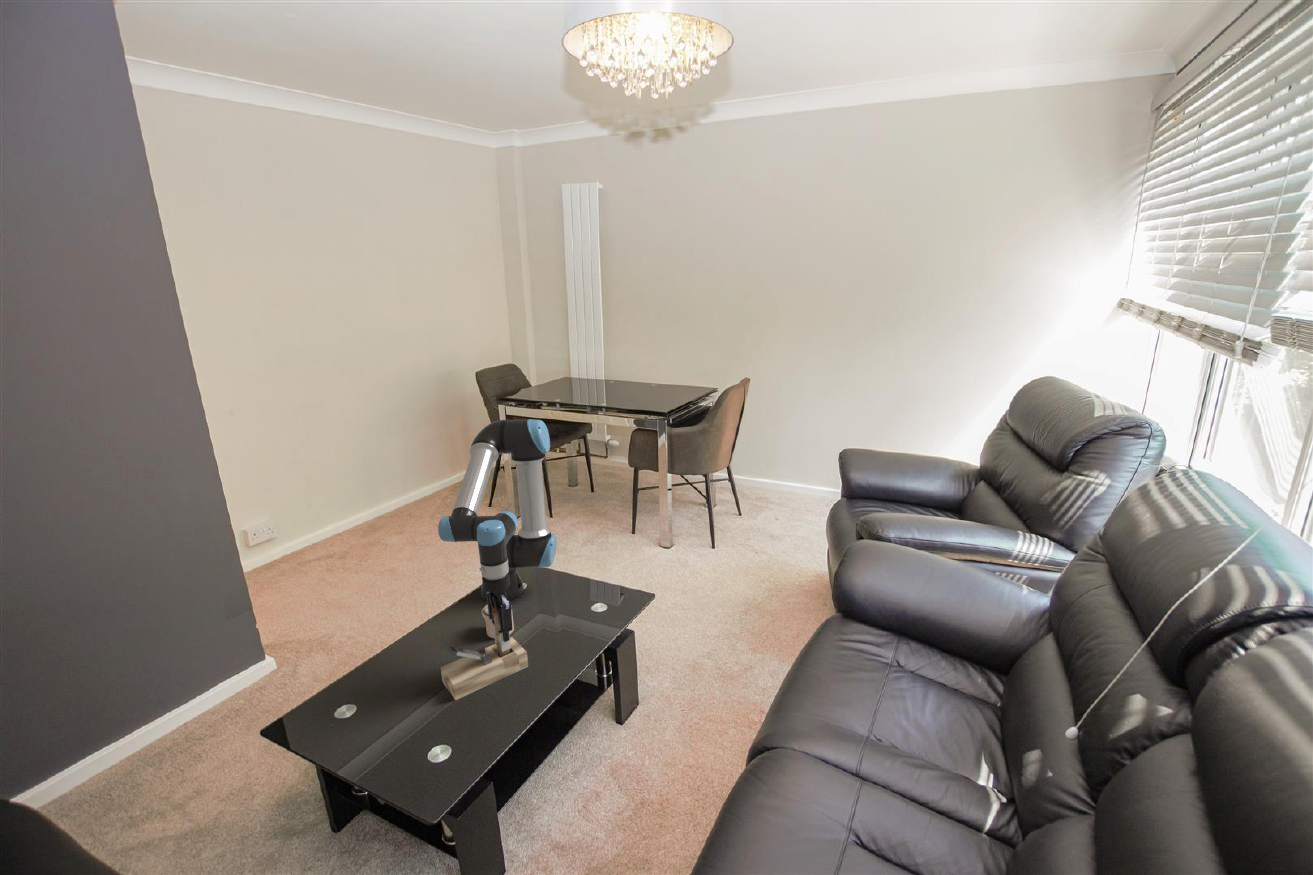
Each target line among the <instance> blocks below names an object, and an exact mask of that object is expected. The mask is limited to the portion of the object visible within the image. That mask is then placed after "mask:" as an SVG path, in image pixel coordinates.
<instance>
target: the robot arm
mask: <svg viewBox="0 0 1313 875" xmlns="http://www.w3.org/2000/svg"><path fill="white" fill-rule="evenodd" d="M550 440H551V439H550V434H549V429H548V427H547V425H546V423H545V422H544V421H543V420H541V419H531V418H529V419H528V418H527V419H500V420H499V419H498V420H495V421H492V422H490V423H489V424H488V425H485V427H483V428H482V429H481V430H480V431H479V432H478V433H477V434H476V436H475V437H474V439H473V441H472V442H471V445H470V448H469V454H470V459H469V460H468V461H469V462H468V464H467V467H466V470H465V472H464V476H463V479H462V481H461V482H462V483H461V485H460V488H459V491H458V494H457V496H456V500H455V503H454V507H453V509H452V512H451V515H447V516H442V517H441V519H440V520H439V521H438V529H437V531H438V536H439V538H440V539H441V541H443V542H450V543H459V542H461V543H463V542H464V543H465V542H466V543H467V542H477V547H478V554H479V563H480V568H479V571H480V572H481V576H482V577H481V580H482V581H481V587H480V594H481V598H482V599H483V600H484V601H485V602H486V605H488V612H489V618H490V620H491V619H492V623H493V624H494V625H493V627H494V636H495V639H494V643H495V644H496V646H497V641H496V632H495V623H494V615H493V614H492V609H493V608H495V609H496V610H497V613H498V619H499V624H500V631H498V632H499V634H500V643H501V651H502V652H503V651H505V650H508V649H510V648H511V643H510V638H511V637H510V636H511V634H510V633H509V631H512V630H513V627H512V615H513V611H512V612H511V607H512V608H513V604H512V601H511V600H514V599H516V598H517V597H519V596H520V595H521V594H522V593H523V592H524V583H523V579H522V578H521V576H520V573H519V572H518V570H517V569H522V568H525V569H527V568H534V569H535V568H537V569H540V568H549V567H550V566H552V564H553V563H554V561H555V556H556V551H557V535H556V534H553V533H552V530H551V527H550V526H548V525H547V520H546V506H545V505H546V503H545V491H544V481H543V480H544V478H543V466H542V464H543V461H544V459H546V454H547V453H549V452H550V451H551V450H550V448H551V441H550ZM503 454H510V456H511V457H510V458H511V461H512V462H513V463H515V464H516V473H517V476H516V477H517V487H518V488H517V489H518V495H519V496H518V499H519V510H520V524H521V528H520V529H519V530H518V532H517V534H515V533H516V531H517V529H518V527H519V520H518V517H517V516H516V515H515V514H514V513H513V512H511V511H508V510H503V511H500V512H498V513H496V514H495V515H479V512H480V509H481V505H482V502H483V500H484V499H483V498H484V495H485V491H486V488H487V485H488V482H489V479H490V475H491V473H492V469H493V466H494V463H495V462H497V461H498V459H499V457H500V455H503ZM508 601H509V602H508ZM513 631H514V630H513Z"/></svg>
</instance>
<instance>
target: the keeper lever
mask: <svg viewBox="0 0 1313 875" xmlns="http://www.w3.org/2000/svg"><path fill="white" fill-rule="evenodd" d="M446 650H447V651H448V652H449V653H450V655H452V656H453V655H454V656H457V657H462V658H463V657H468V658H473V659H479V660H482V657H484V656H486V655H485V654H484V653H482V652H477V651H476V650H473V649H472V650H471V649H465V648H462V647H456V646H451V645H448V646H447V649H446Z"/></svg>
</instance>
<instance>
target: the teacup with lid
mask: <svg viewBox="0 0 1313 875" xmlns="http://www.w3.org/2000/svg"><path fill="white" fill-rule="evenodd" d="M509 601H510V600H509ZM509 601H508V602H509ZM480 612H481V616H482V618H483V619H484V621H485V629H486V635H487V636H488V637H489V638H491V639H494V640H495V636H494V627H493V625H494V624H493V623H492V619H491V620H490V618H489V612H488V605H487V604H486V605H485V606H484V607H483V608H481V611H480ZM511 612H512V613H513V606H512V607H511ZM513 615H514V614H512V627H513V630H512V631H509V633H510V635H511V634H512V633H513V632H514V630H515V625H514V624H515V623H514V617H513Z"/></svg>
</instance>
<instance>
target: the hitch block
mask: <svg viewBox="0 0 1313 875" xmlns="http://www.w3.org/2000/svg"><path fill="white" fill-rule="evenodd" d="M510 643H511V648H510V654H507V655H505V656H503V657H501V658H500V657H499V656H498V650H497V646H496V644H492V645H490V646H487V647H485V646H482V647H480V648H477V649H475V651H477V652H482V653H484V654H485V655H486V656H484V657H482V660H479V659H473V658H468V657H463V656H462V657H461V658H458V659H456V660H454V661H452V662H449V663H447V664H444V665H442V666H440V673H441V674H440V675H441V680H442V683H443V685H444V686H445V688H446V689H447V690H448V692H449V693H450V695H451V696H452V698H453V699H454V700H455V701H458V700H460V699H461V698H463V697H466V696H468V695H469V694H470V695H471V694H472V693H474V692H477V691H479V690H481V689H483V688H485V687H487V686H489V685H492V684H494V683H497V682H498V681H500V680H503V679H504V678H507V677H509V676H511V675H513V674H515V673H517V672H519V671H522V670H524V669H526V668H528V667H529V659H528V652H527V651H526V649H525V648H523V646H522V645H521V644H519V642H518V641H517V640H515V639H514V637H513V636H511V637H510Z"/></svg>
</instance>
